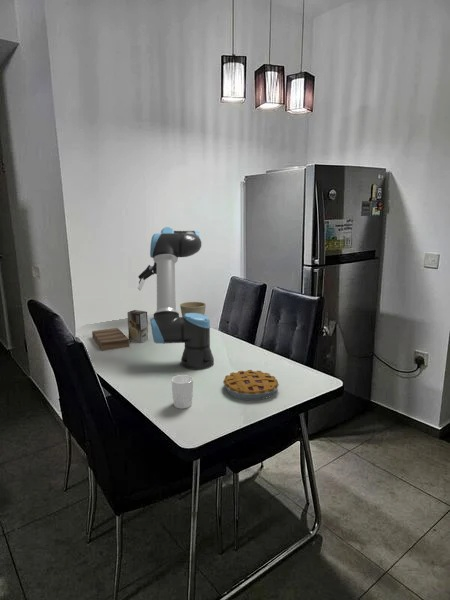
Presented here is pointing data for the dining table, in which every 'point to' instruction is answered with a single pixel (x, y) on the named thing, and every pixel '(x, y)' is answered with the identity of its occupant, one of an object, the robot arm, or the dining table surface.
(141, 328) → the coffee box
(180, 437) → the dining table surface
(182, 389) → the white cup
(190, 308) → the plant pot
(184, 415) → the dining table surface
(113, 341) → the walnut stand
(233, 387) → the pie
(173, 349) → the dining table surface
